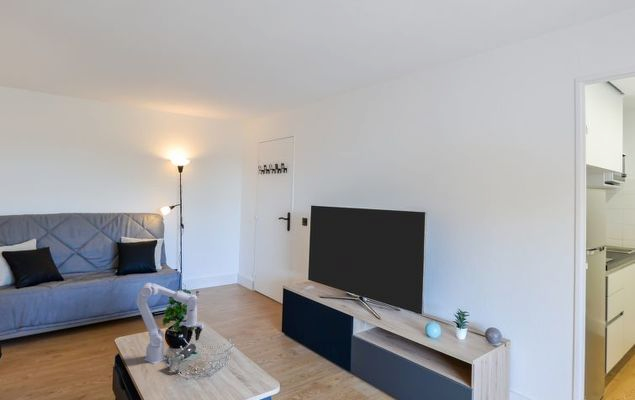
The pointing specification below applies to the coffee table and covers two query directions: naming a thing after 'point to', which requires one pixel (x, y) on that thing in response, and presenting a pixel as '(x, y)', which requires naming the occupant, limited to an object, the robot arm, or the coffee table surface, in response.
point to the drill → (187, 351)
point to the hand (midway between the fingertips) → (191, 339)
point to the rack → (192, 356)
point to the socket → (178, 364)
